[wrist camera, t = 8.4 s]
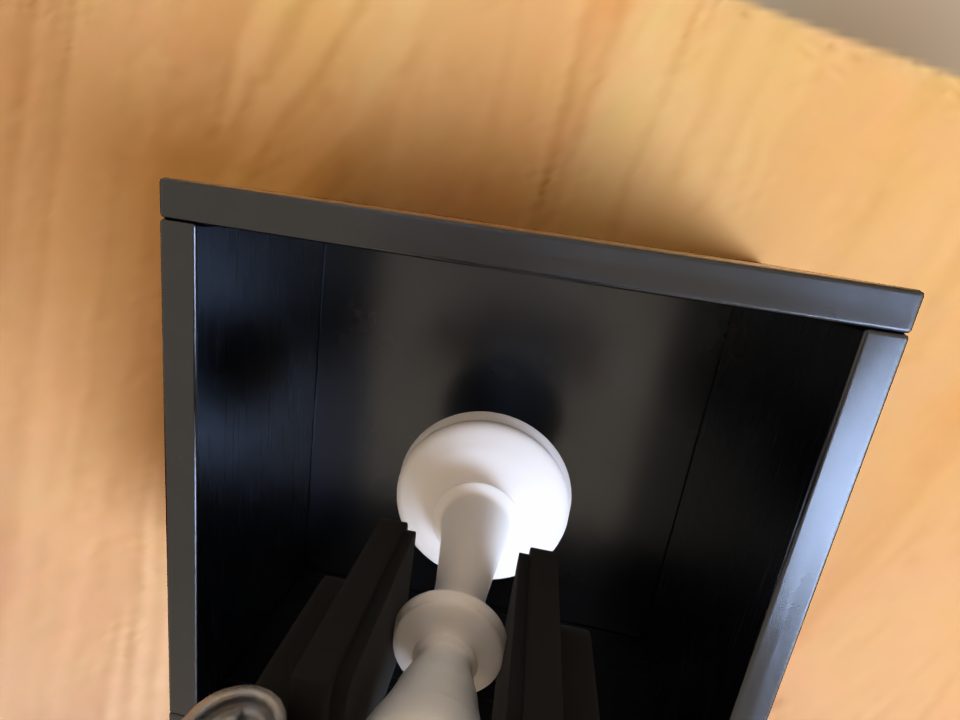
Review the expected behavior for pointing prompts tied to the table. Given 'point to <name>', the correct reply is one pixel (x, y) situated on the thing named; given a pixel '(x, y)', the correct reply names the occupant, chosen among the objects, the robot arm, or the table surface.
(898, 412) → the table surface
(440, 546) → the chess piece
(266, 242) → the dark grey open box
